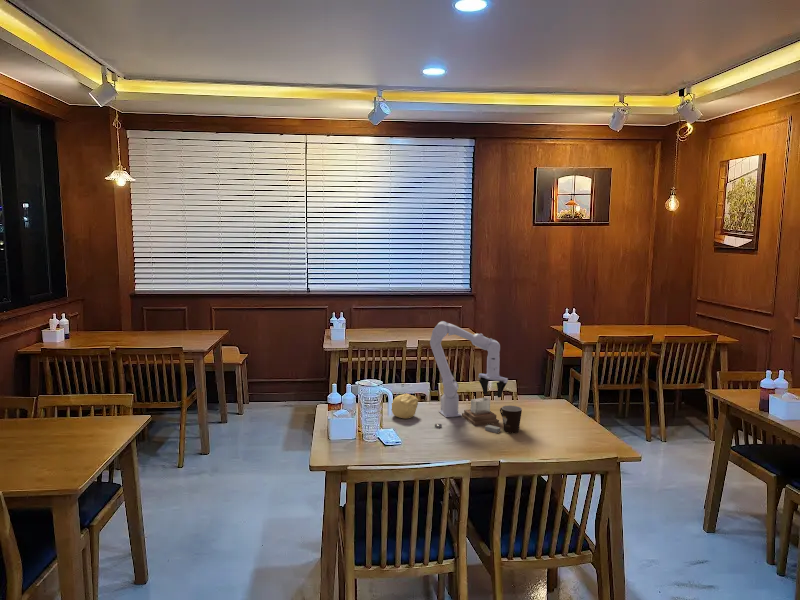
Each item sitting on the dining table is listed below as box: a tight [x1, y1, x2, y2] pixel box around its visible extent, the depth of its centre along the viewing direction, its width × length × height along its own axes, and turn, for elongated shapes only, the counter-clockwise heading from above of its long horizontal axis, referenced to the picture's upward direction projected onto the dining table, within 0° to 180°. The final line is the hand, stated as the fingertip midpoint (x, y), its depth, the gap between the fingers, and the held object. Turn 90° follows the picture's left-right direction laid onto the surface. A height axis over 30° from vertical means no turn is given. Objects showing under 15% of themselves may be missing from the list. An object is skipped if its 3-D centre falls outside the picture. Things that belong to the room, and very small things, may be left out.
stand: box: [461, 408, 500, 427], centre depth 256 cm, size 14×12×4 cm
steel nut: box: [434, 423, 443, 429], centre depth 246 cm, size 3×3×1 cm
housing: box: [470, 397, 491, 415], centre depth 256 cm, size 4×8×6 cm, turn 119°
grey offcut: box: [484, 424, 502, 434], centre depth 242 cm, size 6×3×2 cm, turn 52°
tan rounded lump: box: [391, 392, 419, 420], centre depth 260 cm, size 12×12×11 cm
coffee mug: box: [499, 405, 523, 434], centre depth 243 cm, size 12×9×10 cm
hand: (492, 395), depth 259 cm, fingers open, 7 cm apart
